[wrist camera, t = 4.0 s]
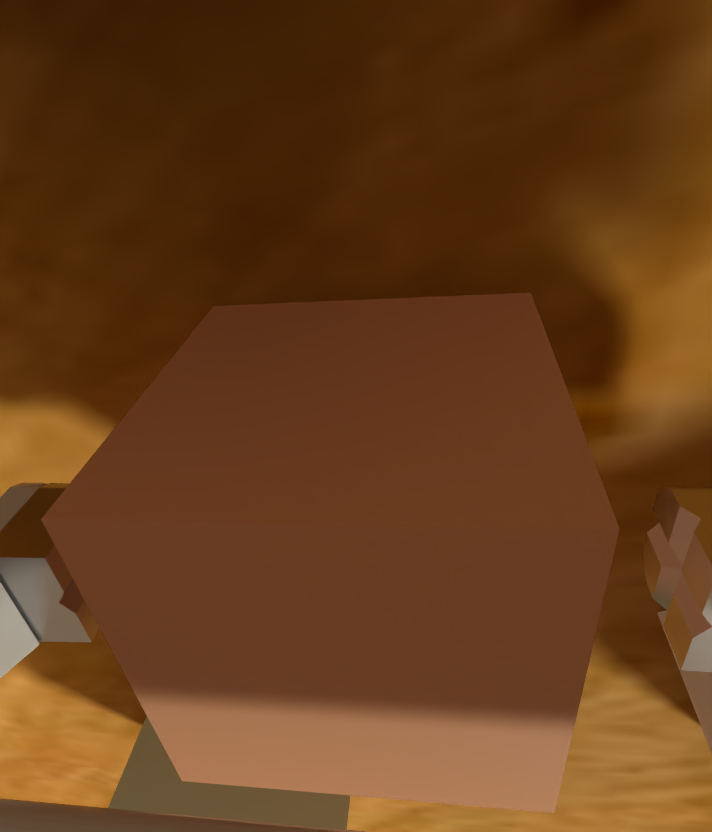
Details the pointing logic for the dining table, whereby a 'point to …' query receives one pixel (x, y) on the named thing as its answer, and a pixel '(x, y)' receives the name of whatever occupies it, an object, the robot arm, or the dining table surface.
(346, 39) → the dining table surface
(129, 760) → the sage green cube
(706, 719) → the off-white cube
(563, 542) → the terracotta cube
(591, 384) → the dining table surface
